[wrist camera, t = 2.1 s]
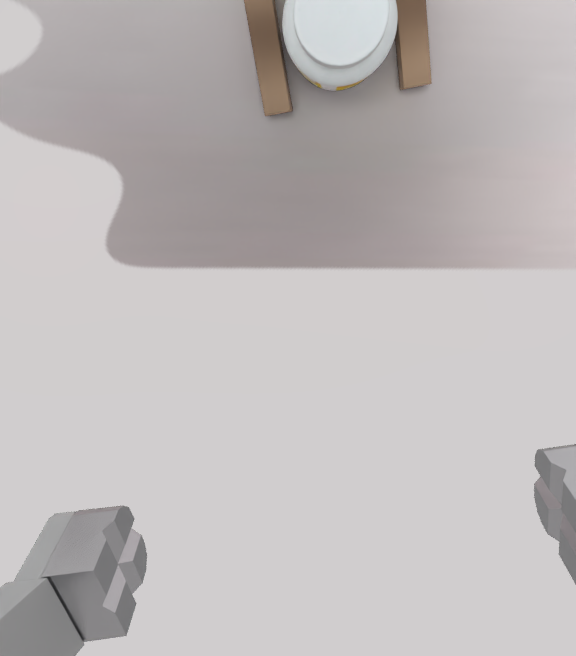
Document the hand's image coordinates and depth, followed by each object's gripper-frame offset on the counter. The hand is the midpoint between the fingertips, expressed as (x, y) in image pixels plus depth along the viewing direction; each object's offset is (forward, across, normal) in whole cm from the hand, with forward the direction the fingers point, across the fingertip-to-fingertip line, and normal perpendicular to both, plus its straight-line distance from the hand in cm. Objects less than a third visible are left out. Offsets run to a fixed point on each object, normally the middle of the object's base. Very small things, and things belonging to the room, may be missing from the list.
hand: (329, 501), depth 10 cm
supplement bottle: (+27, -4, -9) cm, 29 cm away
